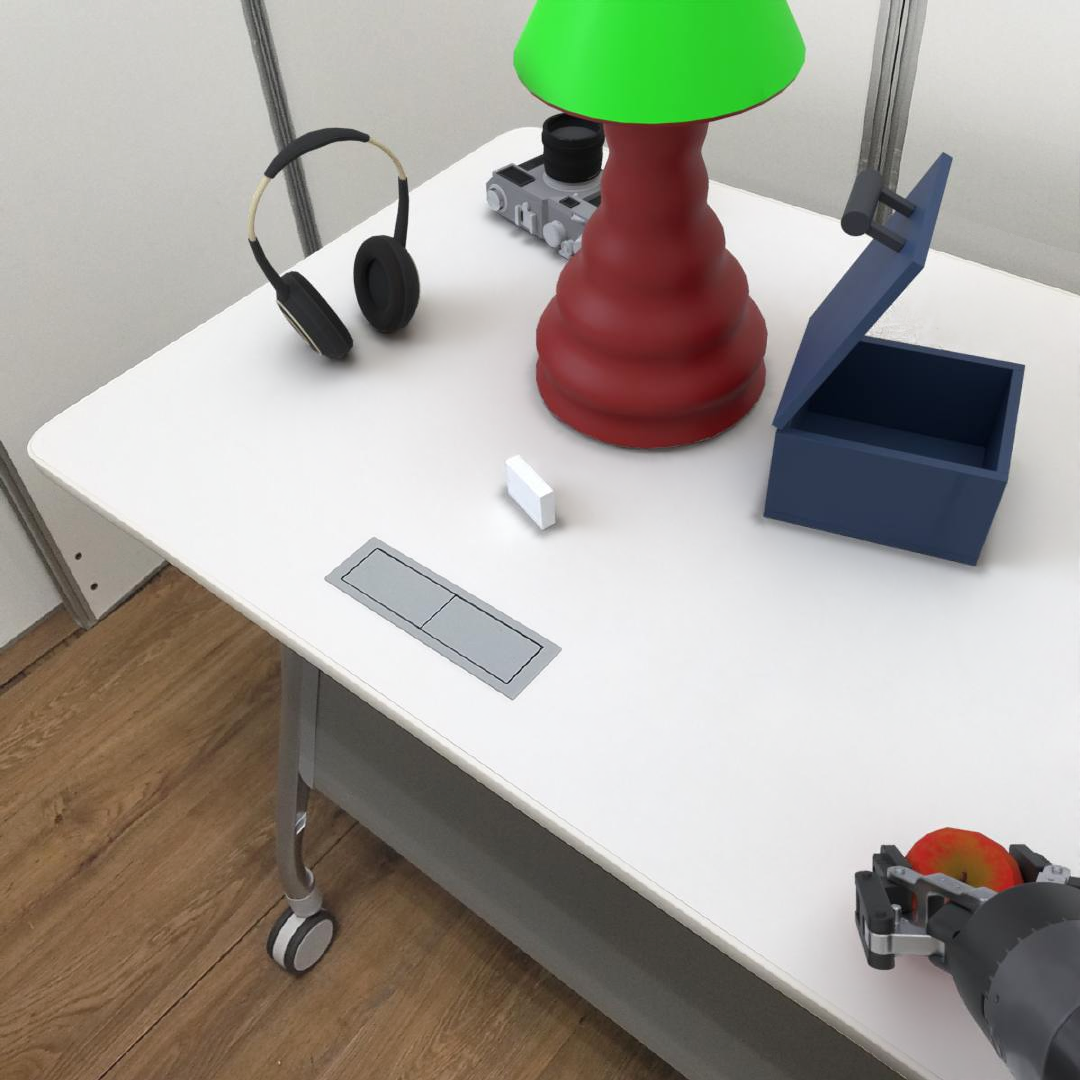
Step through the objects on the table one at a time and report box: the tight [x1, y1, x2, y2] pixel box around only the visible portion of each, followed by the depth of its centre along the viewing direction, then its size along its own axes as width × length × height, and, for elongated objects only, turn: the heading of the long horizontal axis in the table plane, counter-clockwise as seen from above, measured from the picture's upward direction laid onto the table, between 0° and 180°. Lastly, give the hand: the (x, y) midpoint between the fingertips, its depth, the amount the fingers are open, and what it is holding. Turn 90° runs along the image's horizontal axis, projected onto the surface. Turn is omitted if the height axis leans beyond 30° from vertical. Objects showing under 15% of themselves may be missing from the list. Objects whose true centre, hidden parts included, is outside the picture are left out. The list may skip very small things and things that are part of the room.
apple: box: [904, 826, 1024, 909], centre depth 60 cm, size 6×6×8 cm
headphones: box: [247, 127, 421, 359], centre depth 93 cm, size 9×15×20 cm, turn 125°
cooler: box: [763, 334, 1026, 567], centre depth 82 cm, size 16×13×9 cm
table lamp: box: [512, 0, 807, 450], centre depth 78 cm, size 20×20×45 cm
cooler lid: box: [771, 151, 954, 430], centre depth 74 cm, size 16×13×5 cm
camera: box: [485, 112, 606, 260], centre depth 107 cm, size 18×10×10 cm
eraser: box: [504, 454, 556, 531], centre depth 84 cm, size 1×5×4 cm, turn 35°
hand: (950, 861), depth 60 cm, fingers closed on apple, 6 cm apart
